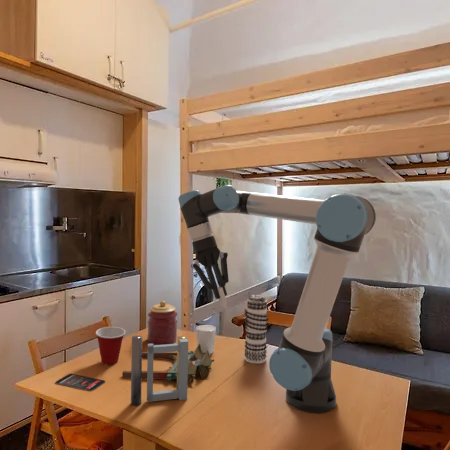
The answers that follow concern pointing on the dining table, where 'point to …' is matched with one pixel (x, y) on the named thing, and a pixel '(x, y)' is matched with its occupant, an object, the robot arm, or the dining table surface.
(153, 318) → the canister
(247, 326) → the decorative candle
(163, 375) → the miniature gate
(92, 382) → the smartphone
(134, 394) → the hinge post
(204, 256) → the robot arm
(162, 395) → the grey rectangular frame
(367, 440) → the dining table surface
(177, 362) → the latch post
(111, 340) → the plastic cup
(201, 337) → the white cup
